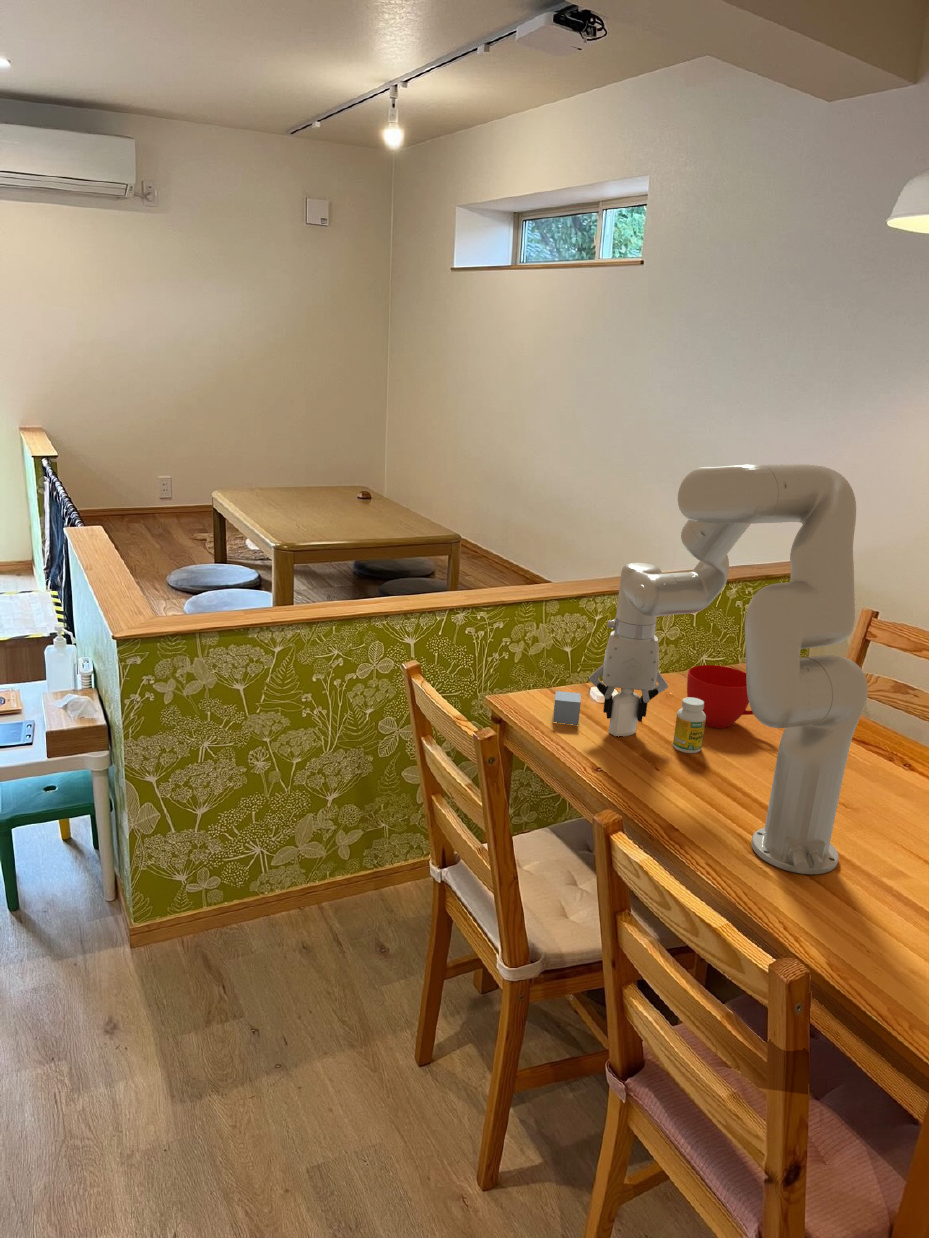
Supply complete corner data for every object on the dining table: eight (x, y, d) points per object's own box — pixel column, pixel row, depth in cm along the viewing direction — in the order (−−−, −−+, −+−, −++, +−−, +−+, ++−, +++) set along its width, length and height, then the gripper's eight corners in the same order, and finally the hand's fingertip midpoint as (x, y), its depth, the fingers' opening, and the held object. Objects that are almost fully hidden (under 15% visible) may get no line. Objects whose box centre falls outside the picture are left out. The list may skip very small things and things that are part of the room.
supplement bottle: (686, 740, 184) (693, 693, 181) (707, 750, 180) (714, 703, 177) (666, 745, 181) (672, 698, 178) (687, 756, 177) (694, 708, 174)
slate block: (578, 726, 187) (580, 702, 186) (552, 723, 188) (555, 699, 186) (578, 716, 192) (580, 693, 191) (553, 713, 192) (555, 690, 191)
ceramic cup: (756, 745, 183) (764, 697, 180) (672, 723, 192) (679, 676, 189) (773, 725, 194) (781, 679, 191) (693, 704, 202) (700, 660, 199)
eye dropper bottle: (638, 738, 183) (646, 680, 180) (609, 736, 183) (616, 678, 179) (634, 729, 187) (641, 672, 184) (605, 727, 187) (612, 670, 184)
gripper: (589, 630, 176) (579, 720, 181) (683, 639, 175) (670, 729, 180) (588, 618, 183) (579, 706, 188) (678, 627, 182) (666, 714, 187)
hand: (624, 716), depth 184 cm, fingers closed on eye dropper bottle, 5 cm apart
